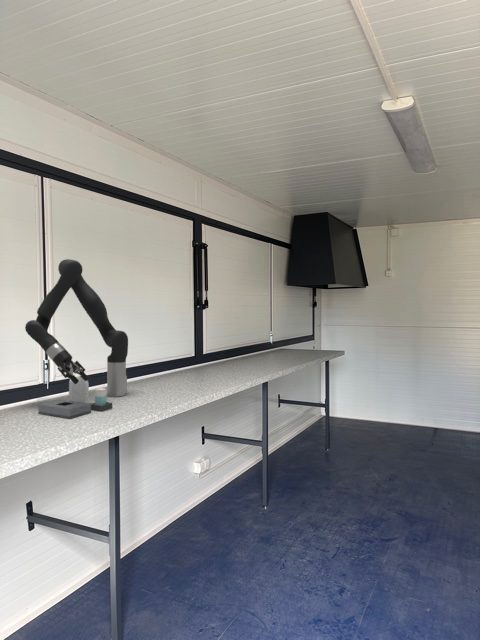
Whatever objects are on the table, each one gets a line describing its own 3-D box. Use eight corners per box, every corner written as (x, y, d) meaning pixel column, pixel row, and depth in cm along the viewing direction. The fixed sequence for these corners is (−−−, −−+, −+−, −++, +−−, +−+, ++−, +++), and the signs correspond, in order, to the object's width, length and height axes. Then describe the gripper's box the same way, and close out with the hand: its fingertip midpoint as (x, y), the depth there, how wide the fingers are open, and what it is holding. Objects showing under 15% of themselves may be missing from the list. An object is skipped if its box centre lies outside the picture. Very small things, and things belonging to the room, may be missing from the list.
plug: (100, 407, 206) (100, 388, 206) (106, 408, 205) (106, 388, 204) (94, 409, 203) (94, 389, 203) (101, 410, 201) (101, 390, 201)
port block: (60, 407, 205) (60, 399, 205) (91, 412, 197) (91, 403, 197) (38, 413, 194) (38, 404, 194) (69, 418, 186) (69, 409, 186)
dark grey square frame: (100, 406, 209) (100, 401, 208) (112, 408, 206) (112, 402, 205) (88, 409, 202) (88, 404, 202) (101, 411, 199) (101, 405, 199)
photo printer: (90, 403, 214) (90, 377, 213) (82, 405, 210) (82, 378, 210) (74, 401, 219) (74, 375, 219) (67, 402, 215) (67, 376, 215)
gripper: (55, 350, 199) (79, 378, 197) (73, 347, 213) (95, 373, 211) (44, 362, 200) (68, 389, 199) (62, 358, 214) (85, 384, 213)
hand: (82, 381), depth 205 cm, fingers open, 8 cm apart
